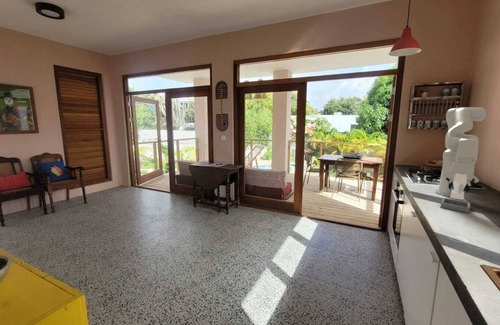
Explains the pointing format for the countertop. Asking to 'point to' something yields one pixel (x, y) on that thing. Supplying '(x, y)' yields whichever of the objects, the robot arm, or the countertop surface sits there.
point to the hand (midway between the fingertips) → (458, 190)
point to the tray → (455, 205)
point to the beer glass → (459, 186)
